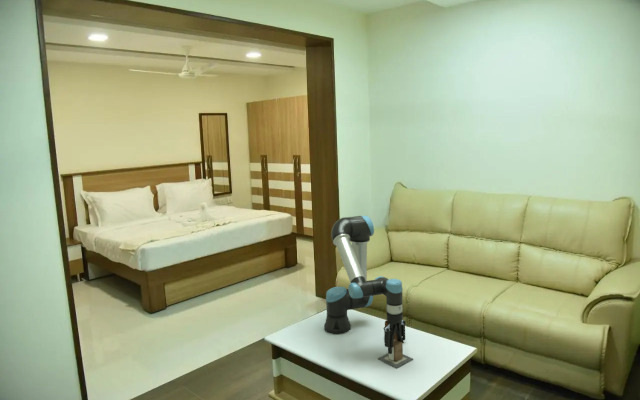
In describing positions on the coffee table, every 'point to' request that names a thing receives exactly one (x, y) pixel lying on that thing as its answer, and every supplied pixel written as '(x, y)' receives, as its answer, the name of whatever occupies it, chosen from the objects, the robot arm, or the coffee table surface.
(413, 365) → the coffee table surface
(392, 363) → the mat
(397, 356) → the walnut block
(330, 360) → the coffee table surface
